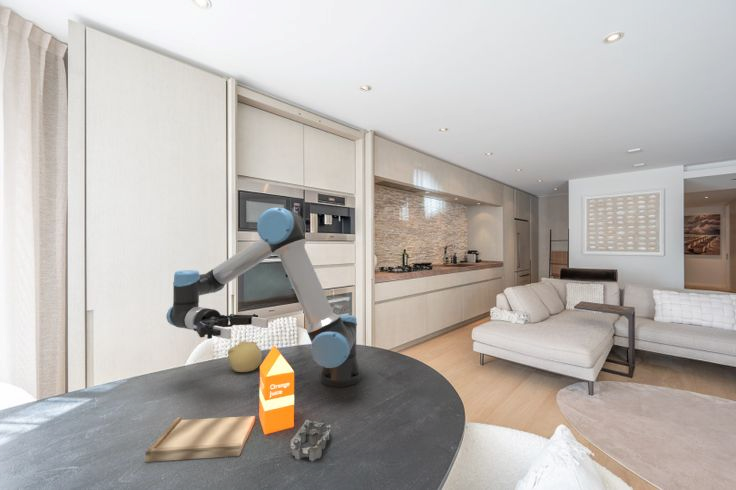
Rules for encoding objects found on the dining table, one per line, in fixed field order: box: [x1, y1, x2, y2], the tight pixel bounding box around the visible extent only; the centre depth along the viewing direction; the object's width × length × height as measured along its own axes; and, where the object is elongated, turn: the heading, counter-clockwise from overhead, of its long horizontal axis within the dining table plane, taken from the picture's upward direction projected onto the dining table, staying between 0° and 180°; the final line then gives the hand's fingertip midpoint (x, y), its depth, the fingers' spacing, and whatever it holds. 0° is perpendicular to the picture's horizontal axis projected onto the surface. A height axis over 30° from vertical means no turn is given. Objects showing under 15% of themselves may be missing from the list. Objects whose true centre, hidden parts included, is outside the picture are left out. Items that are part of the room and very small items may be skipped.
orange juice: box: [258, 345, 295, 435], centre depth 84 cm, size 8×9×20 cm
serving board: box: [145, 415, 256, 463], centre depth 76 cm, size 20×14×2 cm
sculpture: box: [227, 341, 263, 373], centre depth 120 cm, size 11×12×11 cm
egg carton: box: [290, 419, 332, 462], centre depth 74 cm, size 11×8×4 cm
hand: (249, 328), depth 90 cm, fingers open, 13 cm apart
